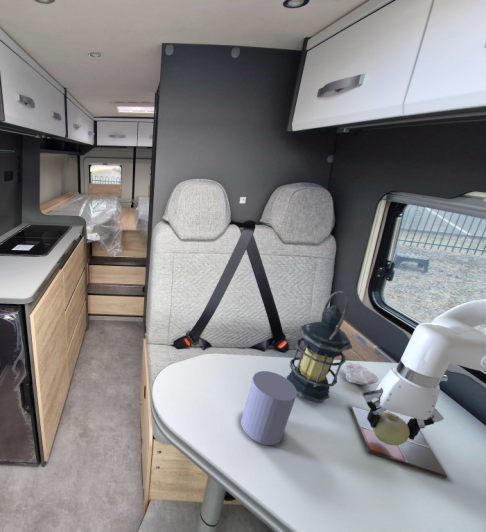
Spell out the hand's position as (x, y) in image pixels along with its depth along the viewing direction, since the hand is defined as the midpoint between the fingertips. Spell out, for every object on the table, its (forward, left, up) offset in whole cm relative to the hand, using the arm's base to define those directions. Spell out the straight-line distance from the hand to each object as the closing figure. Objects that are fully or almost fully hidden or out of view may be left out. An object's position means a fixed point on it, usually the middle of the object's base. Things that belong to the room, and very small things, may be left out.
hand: (389, 428), depth 79 cm
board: (-4, -4, -6) cm, 8 cm away
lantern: (+16, -14, -6) cm, 22 cm away
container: (+30, +8, -6) cm, 32 cm away
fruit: (0, 0, -4) cm, 4 cm away
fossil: (-2, -28, -6) cm, 29 cm away
